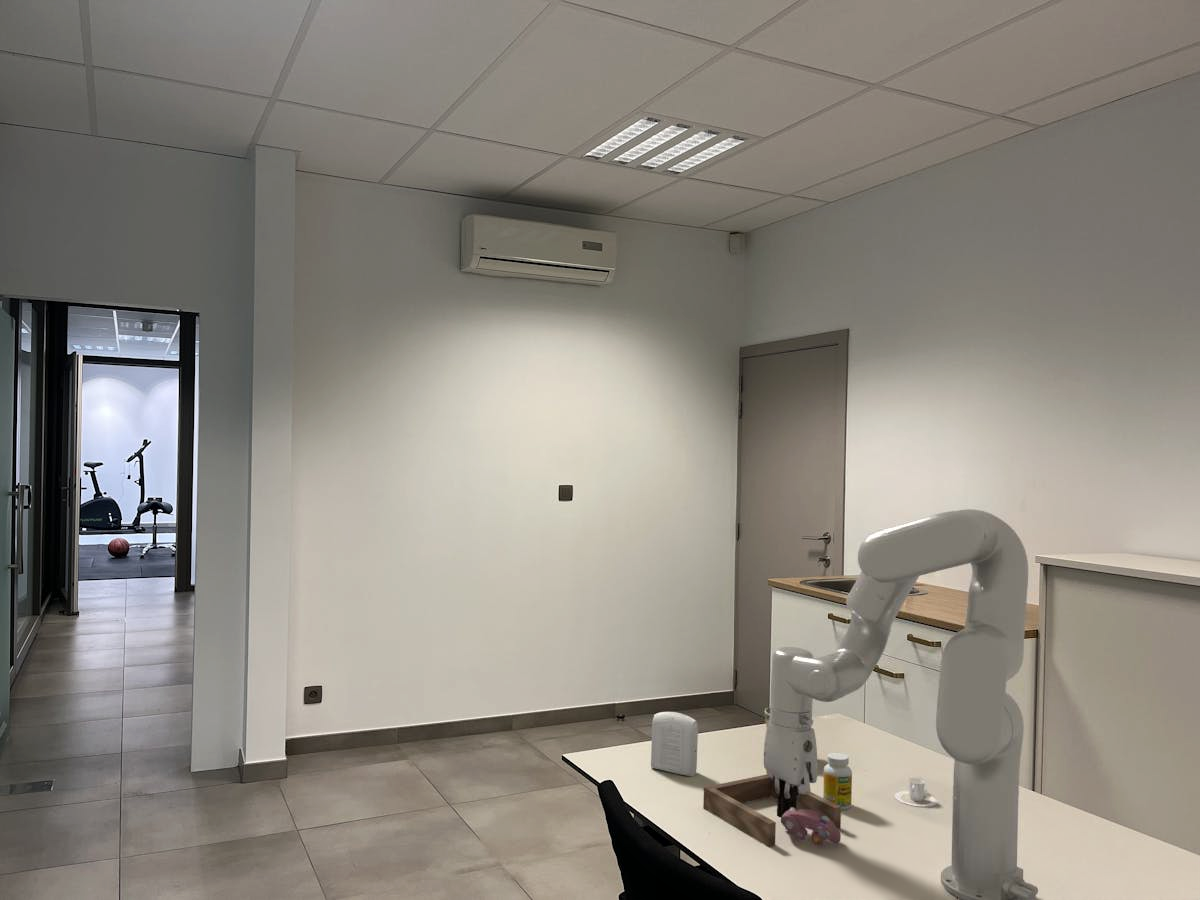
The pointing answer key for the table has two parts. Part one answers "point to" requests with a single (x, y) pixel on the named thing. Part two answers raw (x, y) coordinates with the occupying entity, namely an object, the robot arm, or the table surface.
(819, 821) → the video game controller
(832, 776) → the supplement bottle
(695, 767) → the photo printer
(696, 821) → the table surface
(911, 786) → the teacup and saucer
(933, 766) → the table surface
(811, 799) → the frame
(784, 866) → the table surface
